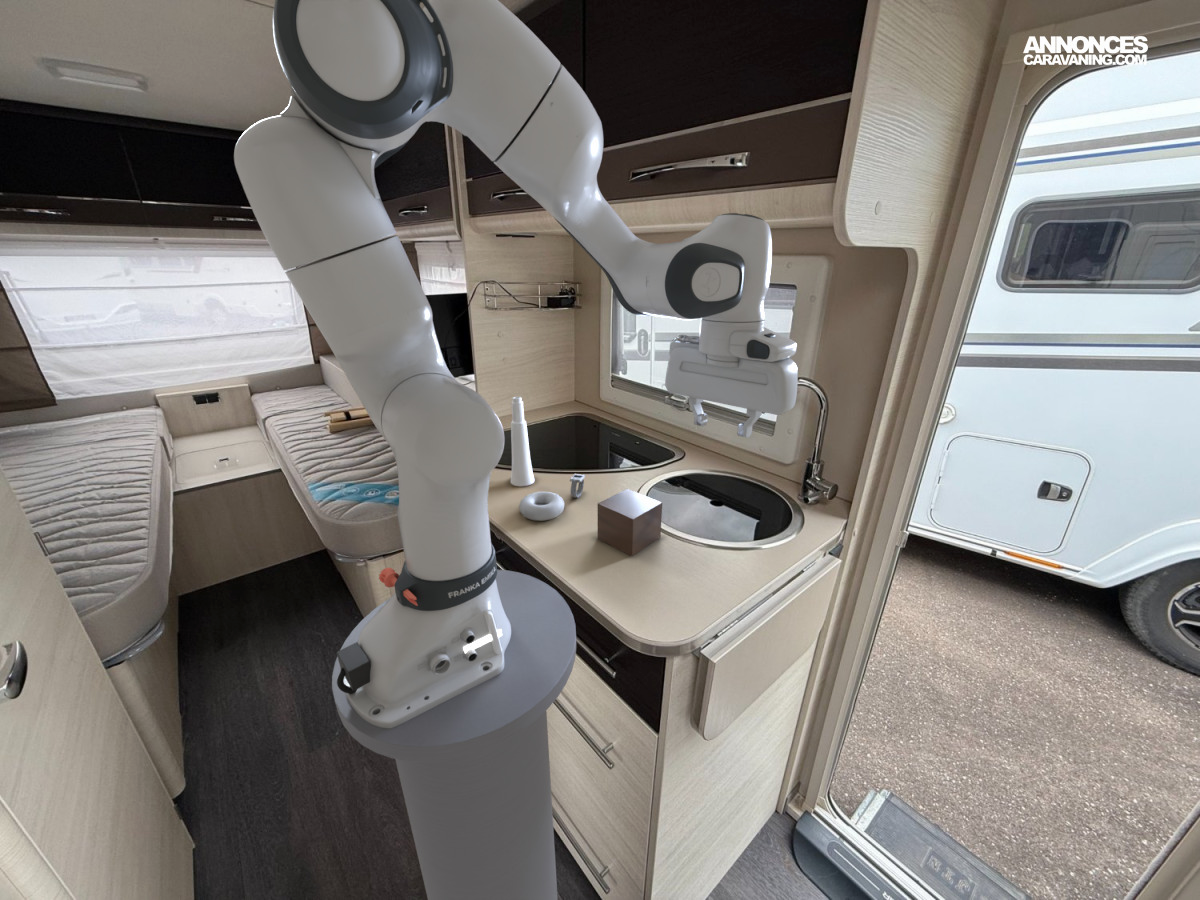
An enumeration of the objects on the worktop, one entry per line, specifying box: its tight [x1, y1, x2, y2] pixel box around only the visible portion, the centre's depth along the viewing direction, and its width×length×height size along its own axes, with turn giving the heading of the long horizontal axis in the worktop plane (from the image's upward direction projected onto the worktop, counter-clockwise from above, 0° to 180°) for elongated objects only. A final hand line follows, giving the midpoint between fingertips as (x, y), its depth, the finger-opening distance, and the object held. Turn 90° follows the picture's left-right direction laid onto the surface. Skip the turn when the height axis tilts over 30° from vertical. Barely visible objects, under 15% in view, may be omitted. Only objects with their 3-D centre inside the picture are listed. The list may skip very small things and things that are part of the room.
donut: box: [518, 491, 565, 522], centre depth 103 cm, size 10×4×10 cm
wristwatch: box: [569, 473, 586, 499], centre depth 111 cm, size 6×3×5 cm, turn 164°
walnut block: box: [597, 488, 663, 557], centre depth 93 cm, size 9×9×8 cm
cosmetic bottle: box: [510, 396, 535, 487], centre depth 115 cm, size 6×6×22 cm
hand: (721, 430), depth 73 cm, fingers open, 6 cm apart
